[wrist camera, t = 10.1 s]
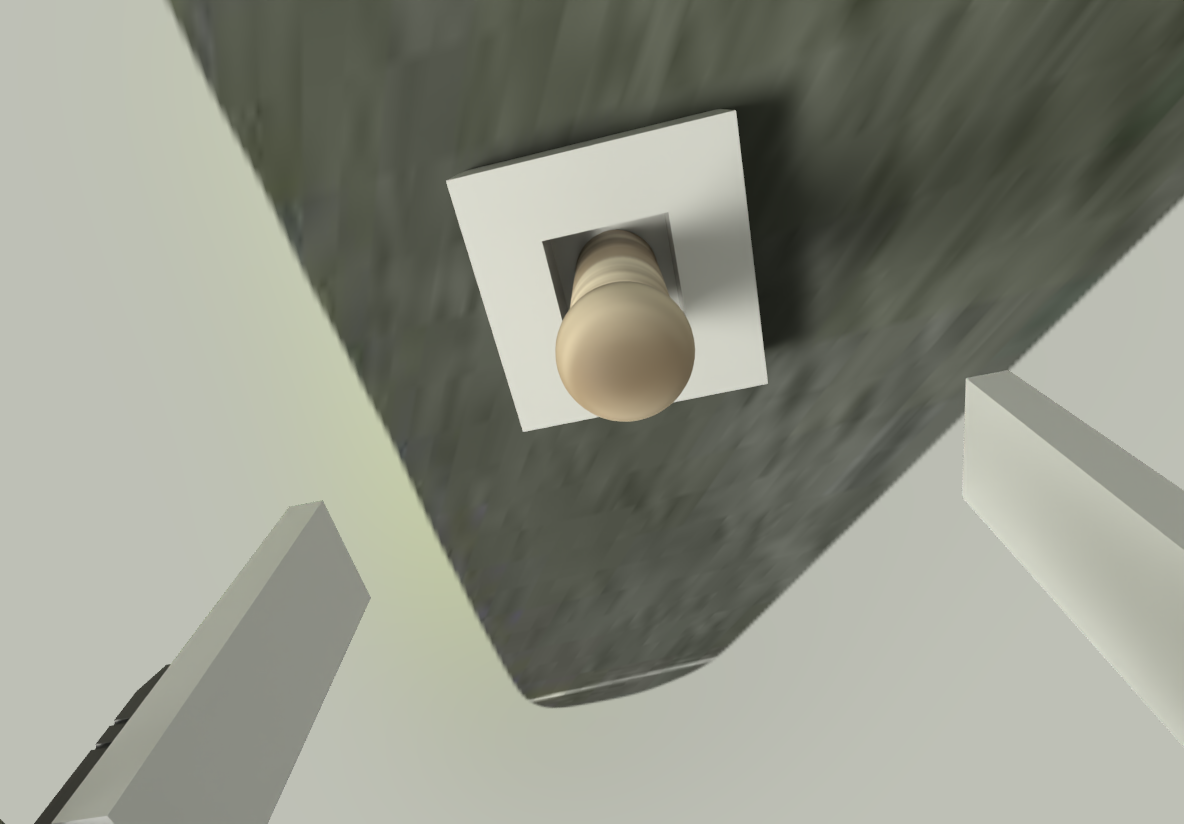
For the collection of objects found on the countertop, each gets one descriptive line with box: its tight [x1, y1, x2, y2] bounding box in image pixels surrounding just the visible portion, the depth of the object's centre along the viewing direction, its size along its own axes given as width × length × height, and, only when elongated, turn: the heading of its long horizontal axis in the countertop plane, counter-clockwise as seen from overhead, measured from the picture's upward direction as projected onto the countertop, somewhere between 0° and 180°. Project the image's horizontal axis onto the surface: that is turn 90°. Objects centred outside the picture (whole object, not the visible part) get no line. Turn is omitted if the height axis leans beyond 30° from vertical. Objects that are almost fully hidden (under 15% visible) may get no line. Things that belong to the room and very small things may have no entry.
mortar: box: [446, 109, 768, 432], centre depth 30 cm, size 12×12×4 cm
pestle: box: [555, 230, 695, 421], centre depth 25 cm, size 5×5×14 cm
